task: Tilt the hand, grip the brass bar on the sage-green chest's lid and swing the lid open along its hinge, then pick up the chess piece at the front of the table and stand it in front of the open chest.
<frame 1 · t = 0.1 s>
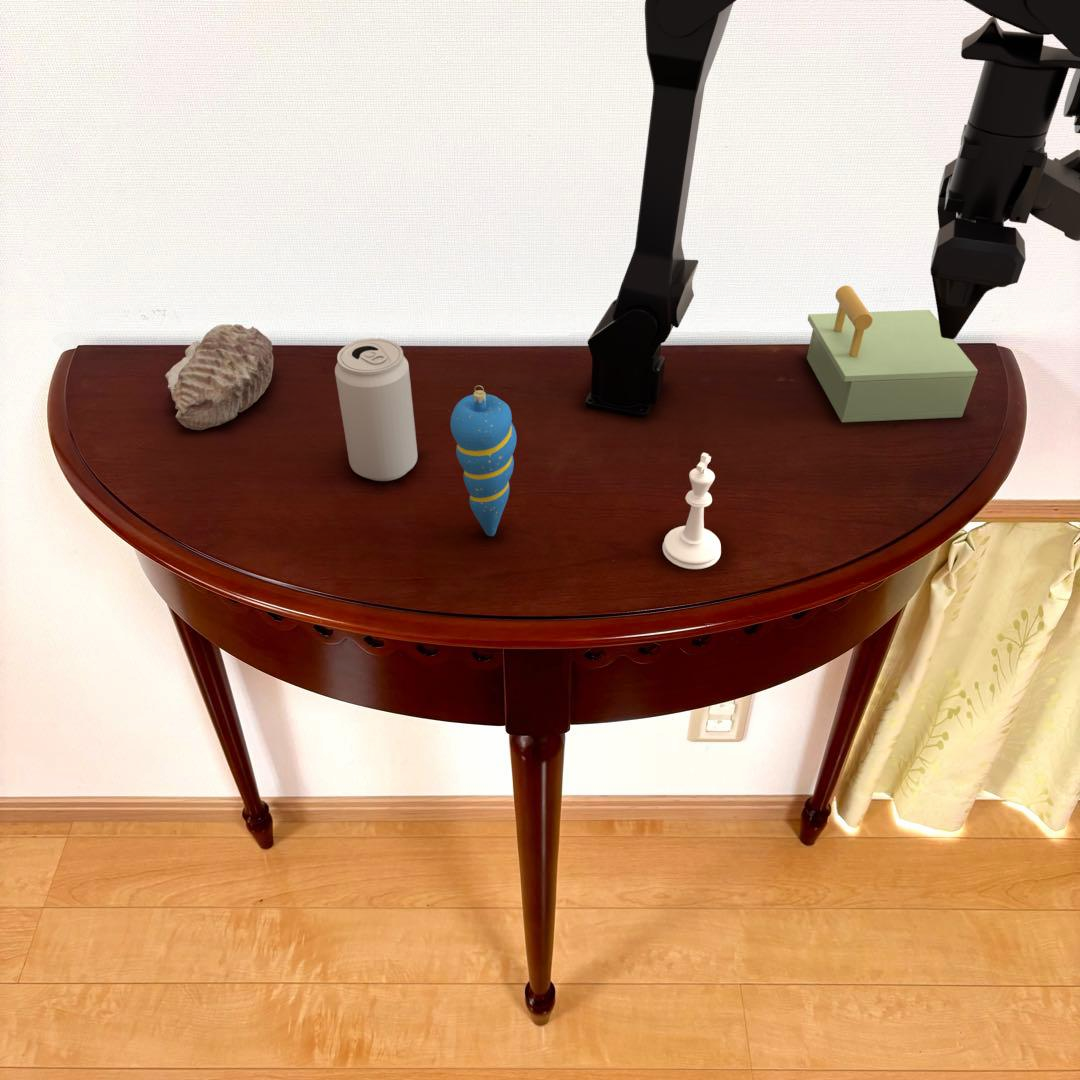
hand: (949, 312, 83), 15 cm above the table, tool pointing down, fingers open, 9 cm apart
ornament: (488, 536, 83), on the table
beverage can: (384, 466, 91), on the table
seashell: (224, 398, 100), on the table
chest: (880, 386, 101), on the table
chess piece: (691, 551, 82), on the table
chest lid: (894, 322, 96), point 8 cm above the table, hinge at 0.0°
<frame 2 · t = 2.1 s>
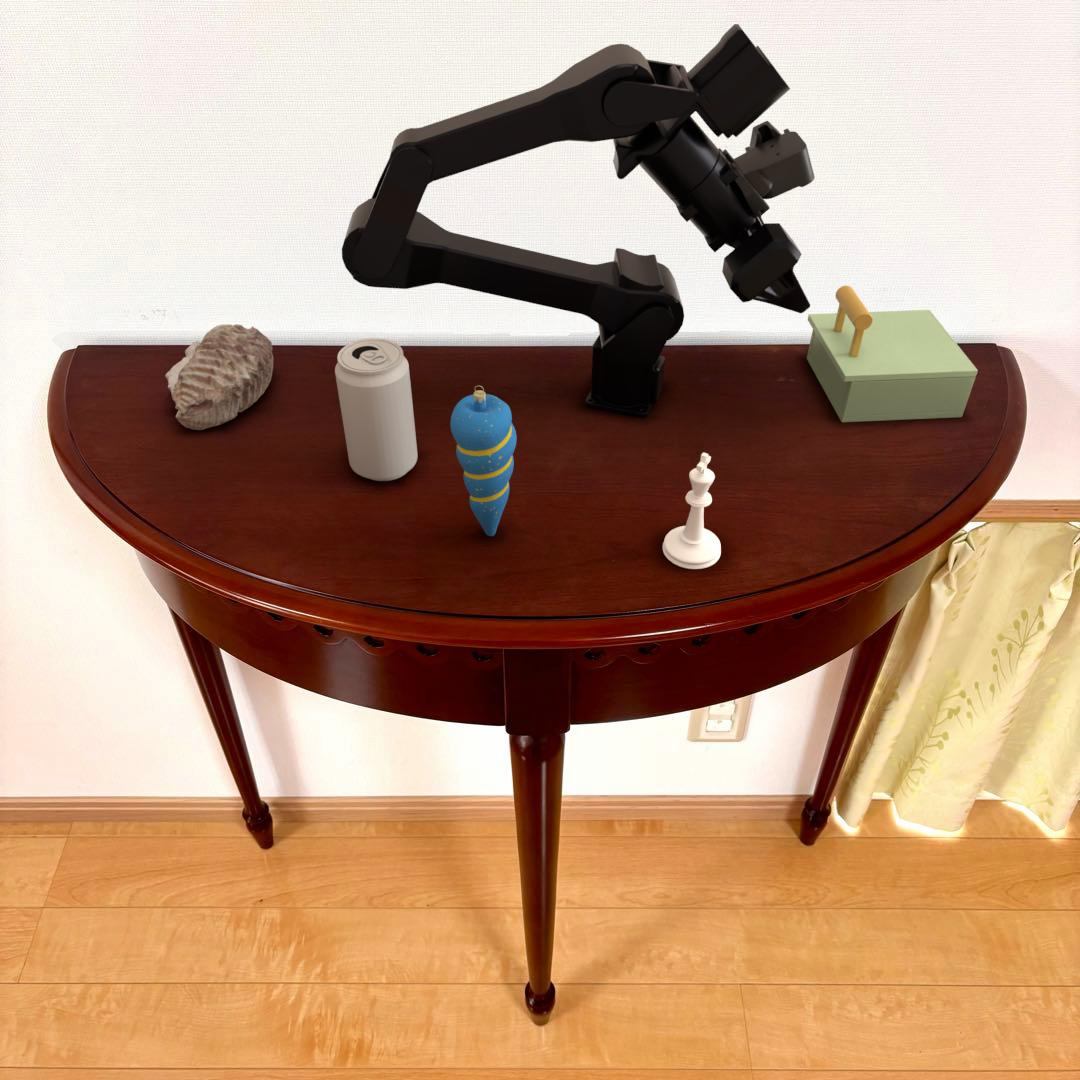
hand: (792, 286, 92), 12 cm above the table, tool tilted 45°, fingers open, 9 cm apart
nothing on the table moved.
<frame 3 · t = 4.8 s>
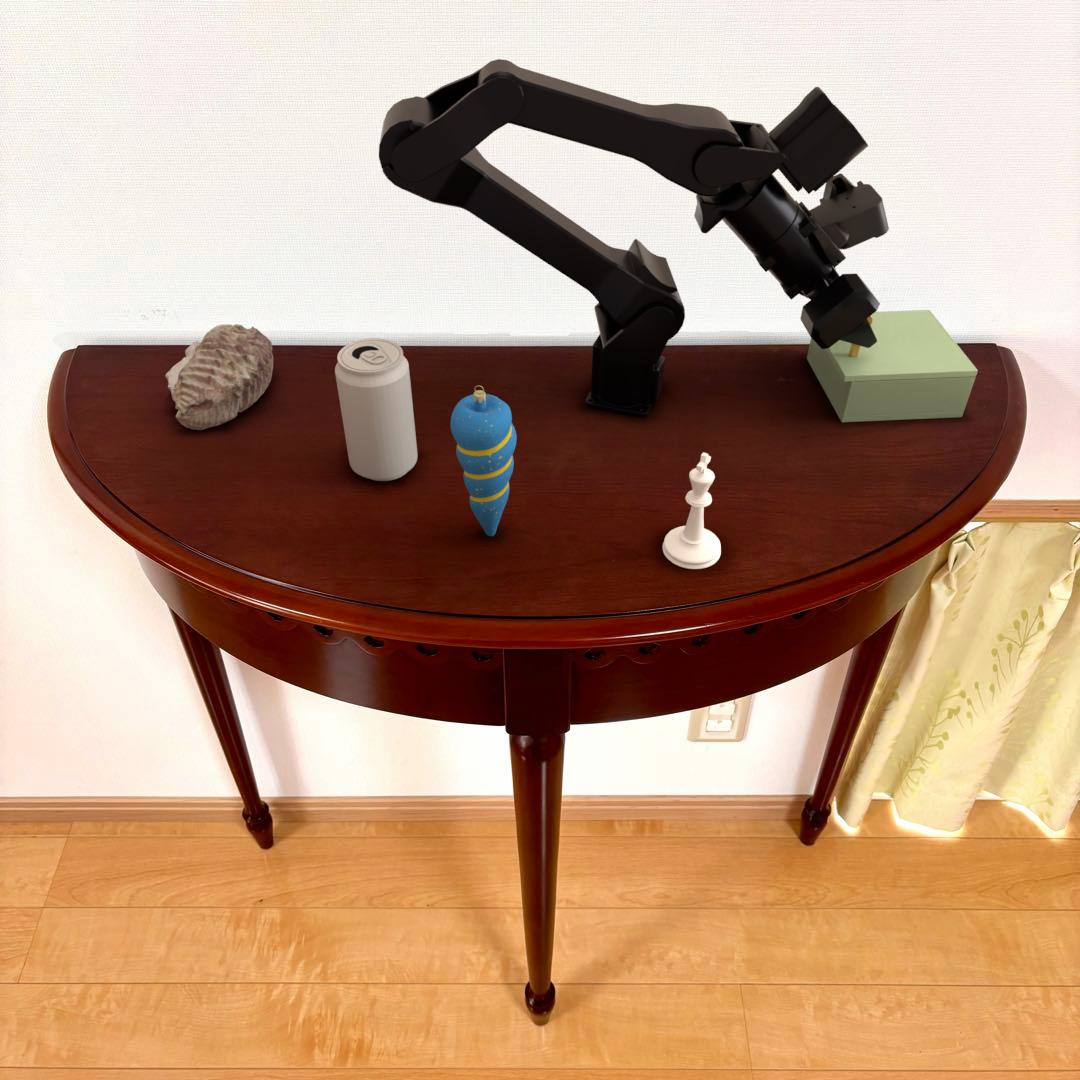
hand: (862, 328, 96), 7 cm above the table, tool tilted 45°, fingers closed on chest lid, 6 cm apart
chest lid: (894, 322, 96), point 7 cm above the table, hinge at 0.0°, touching gripper
everything else where it was.
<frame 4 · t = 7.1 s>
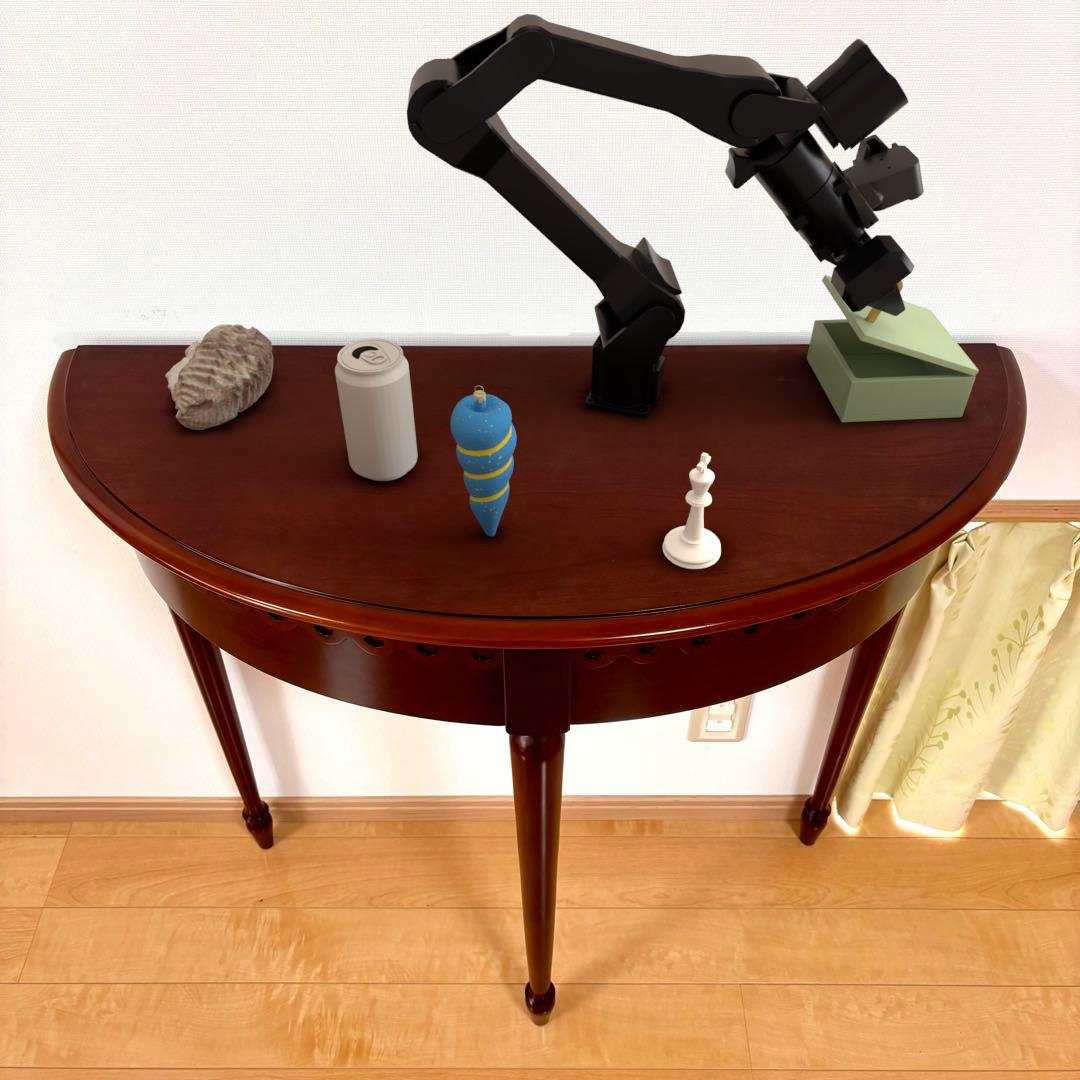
hand: (889, 297, 94), 10 cm above the table, tool tilted 45°, fingers closed on chest lid, 6 cm apart
chest lid: (911, 303, 95), point 10 cm above the table, hinge at 19.7°, touching gripper
everything else where it was.
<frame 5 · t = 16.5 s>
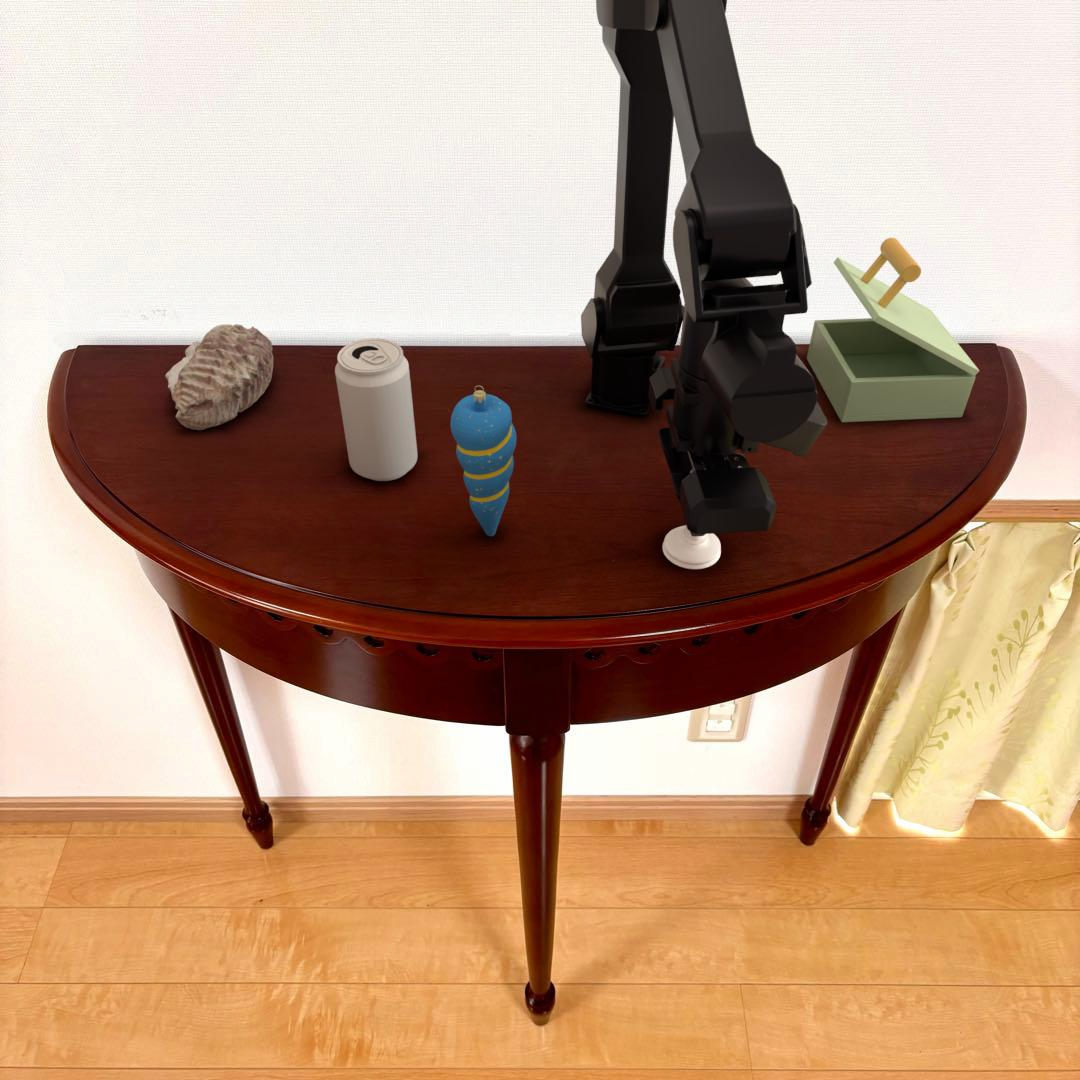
hand: (695, 526, 80), 3 cm above the table, tool pointing down, fingers closed on chess piece
chess piece: (691, 551, 82), on the table, touching gripper
chest lid: (921, 295, 94), point 10 cm above the table, hinge at 29.0°
everything else where it was.
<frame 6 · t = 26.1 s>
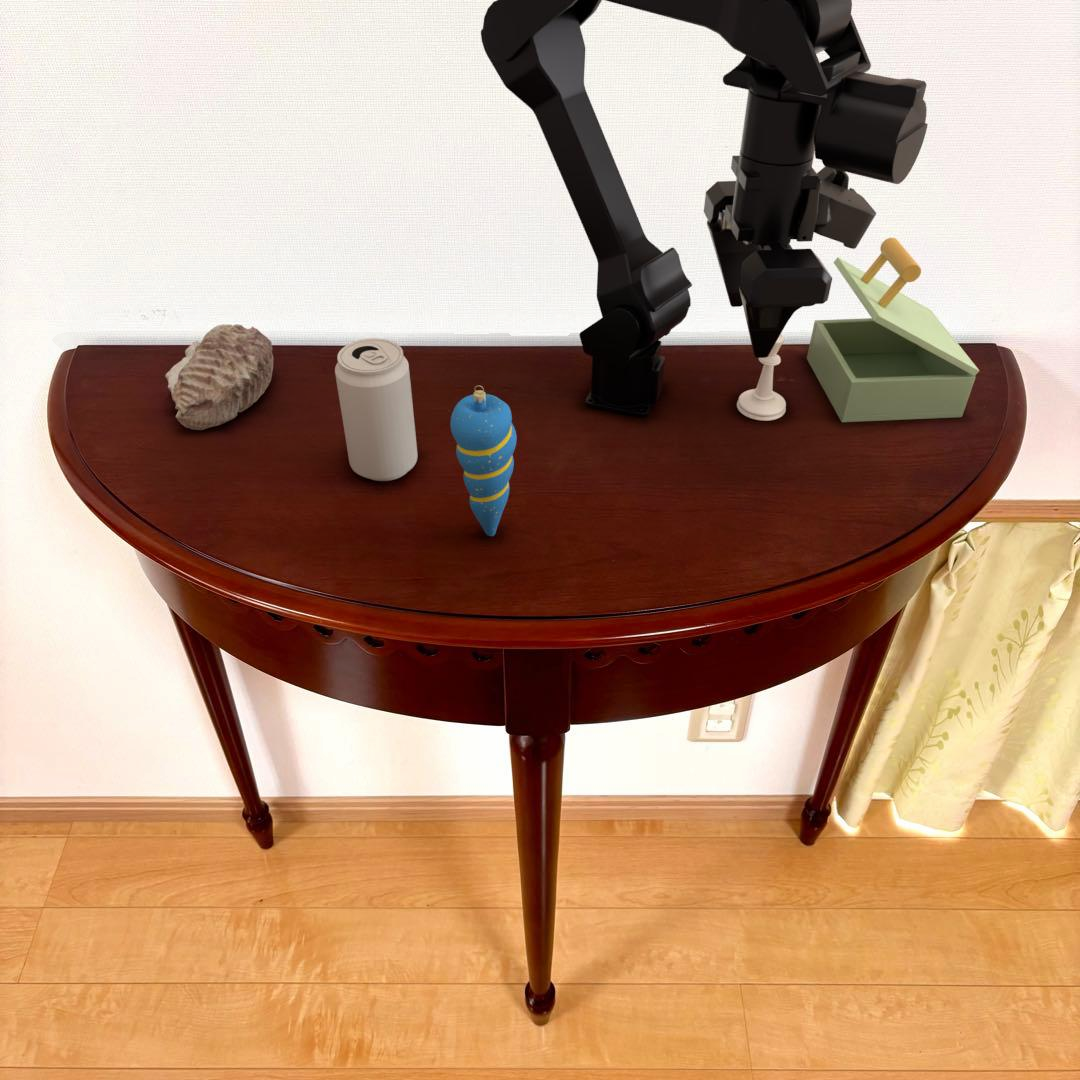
hand: (748, 330, 86), 12 cm above the table, tool pointing down, fingers open, 9 cm apart
chess piece: (760, 409, 98), on the table
everything else where it was.
at the end: chest lid at +29° (first picture: +0°); chess piece 0.6 cm from the target spot on the table beside the chest, on the table; chess piece tilted 0° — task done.
